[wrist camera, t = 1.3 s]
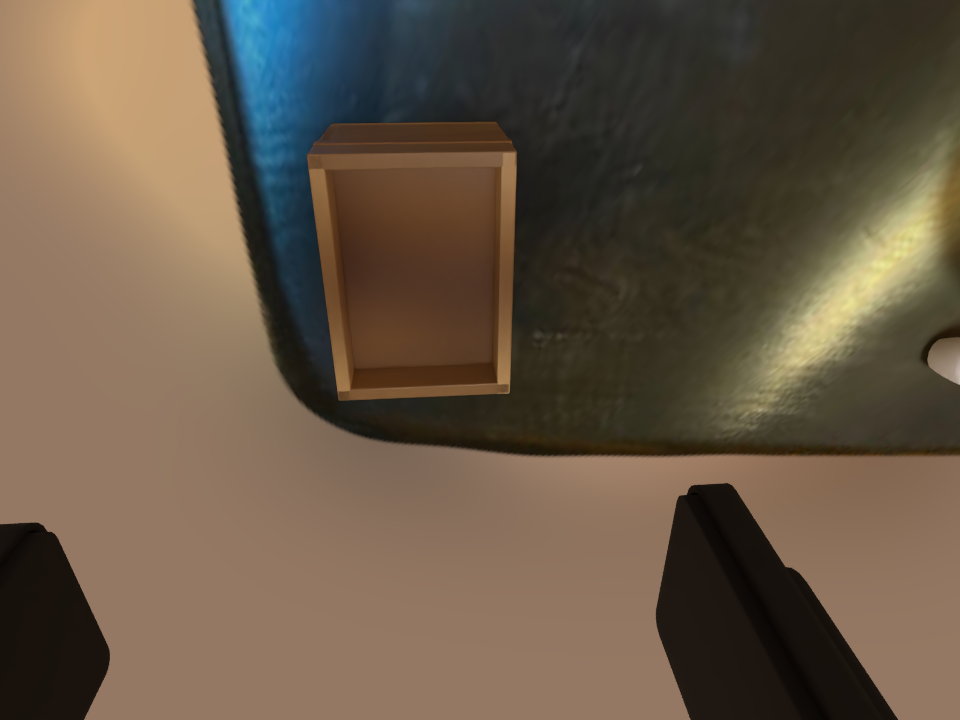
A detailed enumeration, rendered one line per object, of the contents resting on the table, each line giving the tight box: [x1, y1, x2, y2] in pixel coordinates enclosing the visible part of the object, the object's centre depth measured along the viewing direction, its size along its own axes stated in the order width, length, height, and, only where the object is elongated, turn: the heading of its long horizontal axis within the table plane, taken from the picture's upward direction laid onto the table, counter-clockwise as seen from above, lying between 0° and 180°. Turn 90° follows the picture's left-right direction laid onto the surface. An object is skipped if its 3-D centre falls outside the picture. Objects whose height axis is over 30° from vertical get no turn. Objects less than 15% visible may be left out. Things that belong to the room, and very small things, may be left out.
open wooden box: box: [307, 122, 517, 401], centre depth 24 cm, size 9×7×6 cm
